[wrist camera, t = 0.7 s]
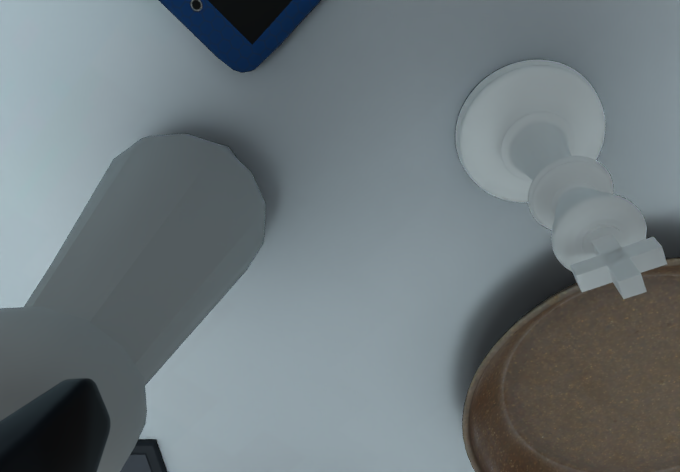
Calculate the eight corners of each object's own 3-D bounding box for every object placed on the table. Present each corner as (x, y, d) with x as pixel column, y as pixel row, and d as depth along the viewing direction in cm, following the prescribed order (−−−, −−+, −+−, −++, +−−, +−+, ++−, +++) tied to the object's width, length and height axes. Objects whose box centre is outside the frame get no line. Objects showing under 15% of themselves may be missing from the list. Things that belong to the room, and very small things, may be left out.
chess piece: (433, 98, 20) (463, 229, 11) (577, 32, 18) (749, 119, 9) (484, 216, 21) (545, 411, 13) (618, 164, 20) (794, 341, 11)
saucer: (843, 455, 25) (890, 509, 23) (512, 521, 29) (523, 574, 27) (813, 162, 19) (872, 194, 17) (406, 294, 23) (407, 334, 21)
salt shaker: (101, 186, 22) (-215, 449, 11) (188, 81, 20) (-94, 270, 9) (217, 280, 24) (48, 597, 12) (309, 192, 22) (209, 479, 10)
